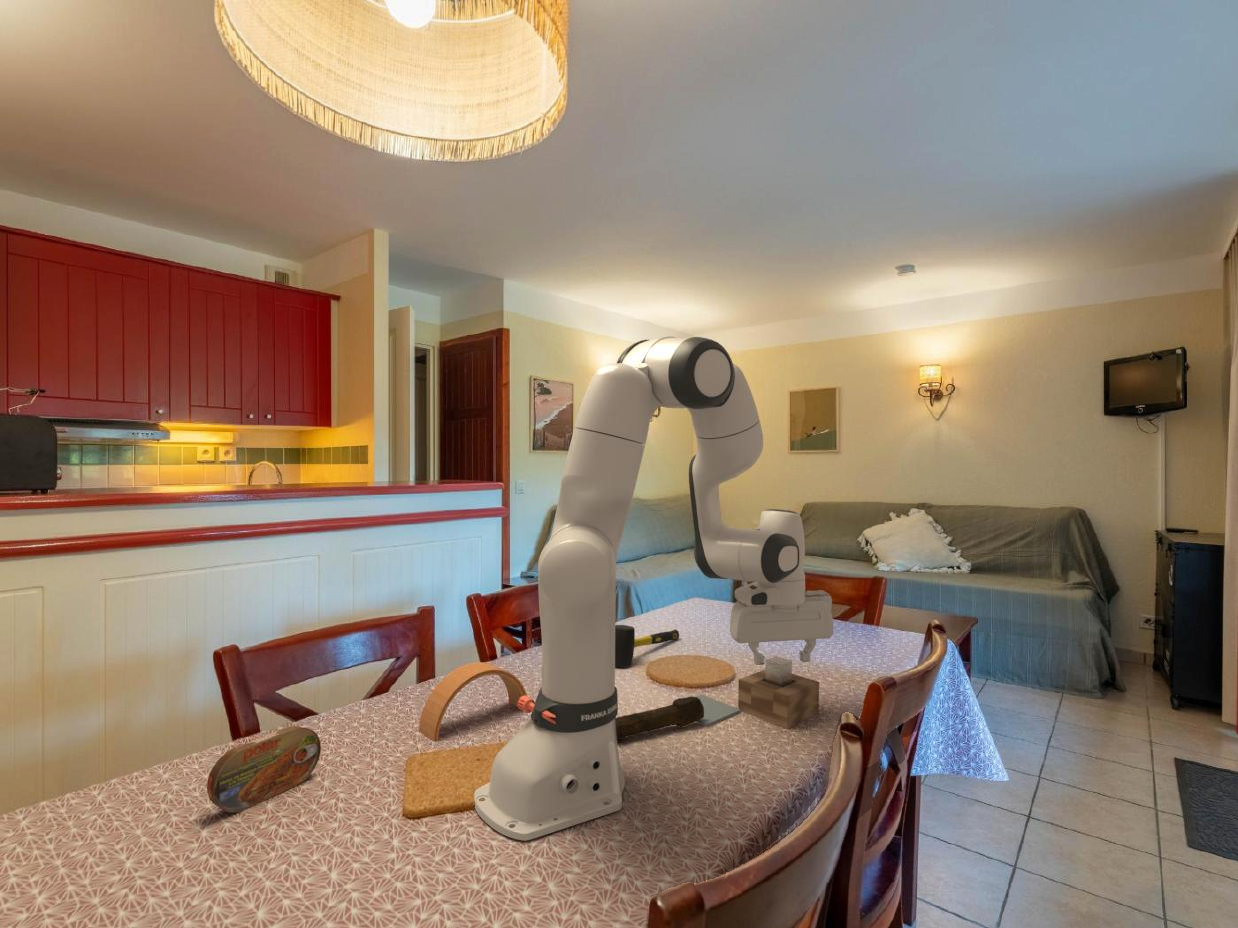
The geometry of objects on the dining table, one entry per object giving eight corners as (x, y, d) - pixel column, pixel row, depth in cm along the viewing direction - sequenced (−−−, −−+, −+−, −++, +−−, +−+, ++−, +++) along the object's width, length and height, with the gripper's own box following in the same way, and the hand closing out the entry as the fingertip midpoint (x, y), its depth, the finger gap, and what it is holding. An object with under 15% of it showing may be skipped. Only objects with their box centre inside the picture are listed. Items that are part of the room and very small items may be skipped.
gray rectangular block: (781, 706, 115) (781, 664, 115) (765, 700, 117) (765, 659, 117) (791, 701, 117) (792, 660, 117) (775, 695, 120) (776, 656, 120)
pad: (707, 726, 110) (707, 723, 110) (668, 709, 117) (668, 706, 117) (740, 712, 117) (740, 709, 117) (701, 696, 124) (701, 694, 124)
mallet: (666, 638, 166) (666, 603, 166) (685, 641, 163) (685, 606, 163) (603, 666, 142) (603, 626, 142) (623, 671, 139) (624, 630, 139)
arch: (418, 731, 107) (418, 675, 107) (512, 701, 121) (512, 652, 121) (433, 742, 103) (434, 684, 103) (529, 710, 117) (529, 659, 117)
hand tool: (615, 746, 102) (614, 719, 102) (606, 735, 106) (606, 709, 106) (711, 725, 109) (711, 700, 109) (700, 716, 113) (700, 692, 113)
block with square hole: (786, 728, 109) (787, 696, 109) (738, 709, 118) (738, 679, 118) (818, 712, 117) (819, 681, 117) (770, 695, 125) (771, 666, 125)
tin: (214, 824, 79) (214, 761, 79) (203, 816, 81) (203, 754, 81) (322, 774, 92) (322, 720, 92) (310, 769, 94) (310, 715, 94)
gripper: (823, 586, 121) (824, 654, 122) (726, 590, 118) (727, 660, 118) (839, 593, 115) (840, 664, 115) (737, 597, 112) (738, 671, 112)
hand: (782, 662), depth 117 cm, fingers open, 8 cm apart
